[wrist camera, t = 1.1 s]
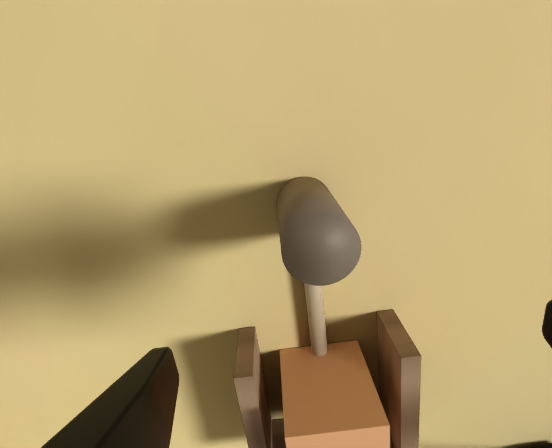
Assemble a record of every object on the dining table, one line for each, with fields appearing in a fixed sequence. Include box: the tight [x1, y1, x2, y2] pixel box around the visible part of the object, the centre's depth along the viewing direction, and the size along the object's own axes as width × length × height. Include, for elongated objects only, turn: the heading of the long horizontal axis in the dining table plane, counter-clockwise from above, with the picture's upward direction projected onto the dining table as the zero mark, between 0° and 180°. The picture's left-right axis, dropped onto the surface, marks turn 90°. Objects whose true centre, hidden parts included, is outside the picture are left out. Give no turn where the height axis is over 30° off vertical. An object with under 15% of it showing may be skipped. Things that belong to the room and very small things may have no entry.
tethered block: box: [277, 177, 390, 448], centre depth 18 cm, size 16×5×6 cm, turn 7°
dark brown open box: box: [233, 310, 421, 448], centre depth 21 cm, size 9×10×4 cm
